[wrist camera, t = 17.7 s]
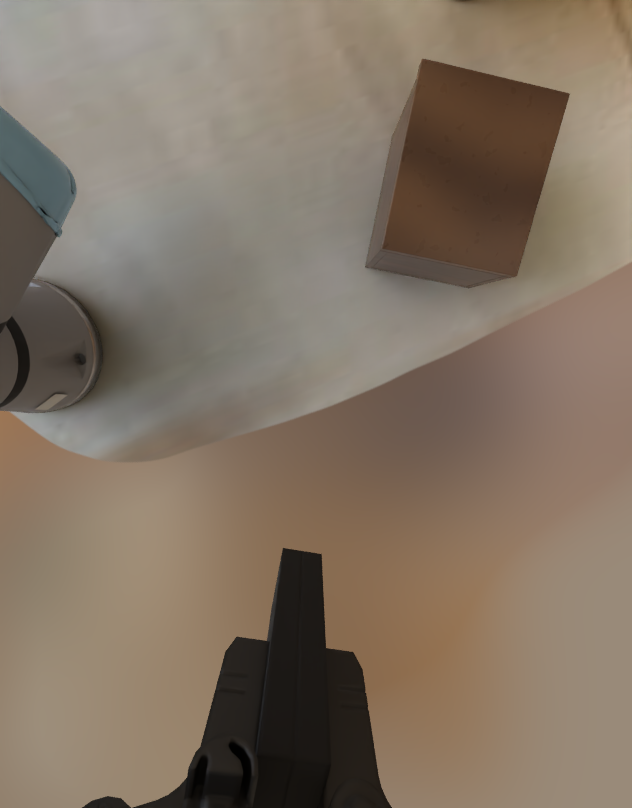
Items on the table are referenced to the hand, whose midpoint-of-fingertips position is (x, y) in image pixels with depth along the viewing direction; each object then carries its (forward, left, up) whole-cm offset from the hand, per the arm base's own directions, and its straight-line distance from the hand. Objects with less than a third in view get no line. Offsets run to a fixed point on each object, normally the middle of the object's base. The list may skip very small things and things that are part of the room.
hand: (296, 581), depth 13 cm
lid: (-10, +24, -22) cm, 34 cm away
